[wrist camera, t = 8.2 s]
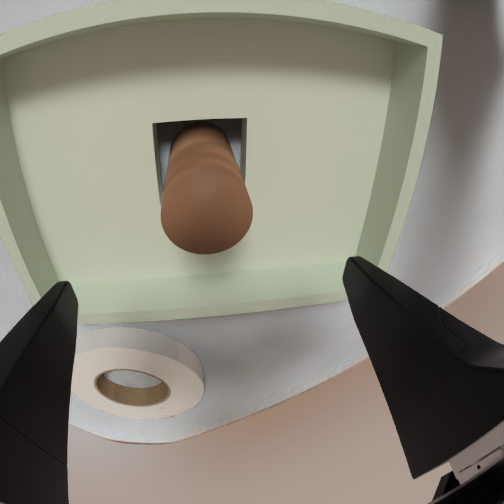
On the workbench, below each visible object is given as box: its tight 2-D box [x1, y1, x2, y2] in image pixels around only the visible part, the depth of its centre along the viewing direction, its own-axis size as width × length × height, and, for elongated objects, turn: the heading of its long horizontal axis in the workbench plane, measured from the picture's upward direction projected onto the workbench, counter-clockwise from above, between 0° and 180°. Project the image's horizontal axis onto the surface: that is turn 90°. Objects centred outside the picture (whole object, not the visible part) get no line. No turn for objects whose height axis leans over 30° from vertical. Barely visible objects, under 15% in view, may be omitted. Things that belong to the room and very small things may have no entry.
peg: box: [161, 122, 253, 255], centre depth 15 cm, size 4×4×8 cm
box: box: [0, 0, 443, 324], centre depth 16 cm, size 24×18×5 cm
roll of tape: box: [71, 327, 204, 419], centre depth 30 cm, size 16×15×3 cm
